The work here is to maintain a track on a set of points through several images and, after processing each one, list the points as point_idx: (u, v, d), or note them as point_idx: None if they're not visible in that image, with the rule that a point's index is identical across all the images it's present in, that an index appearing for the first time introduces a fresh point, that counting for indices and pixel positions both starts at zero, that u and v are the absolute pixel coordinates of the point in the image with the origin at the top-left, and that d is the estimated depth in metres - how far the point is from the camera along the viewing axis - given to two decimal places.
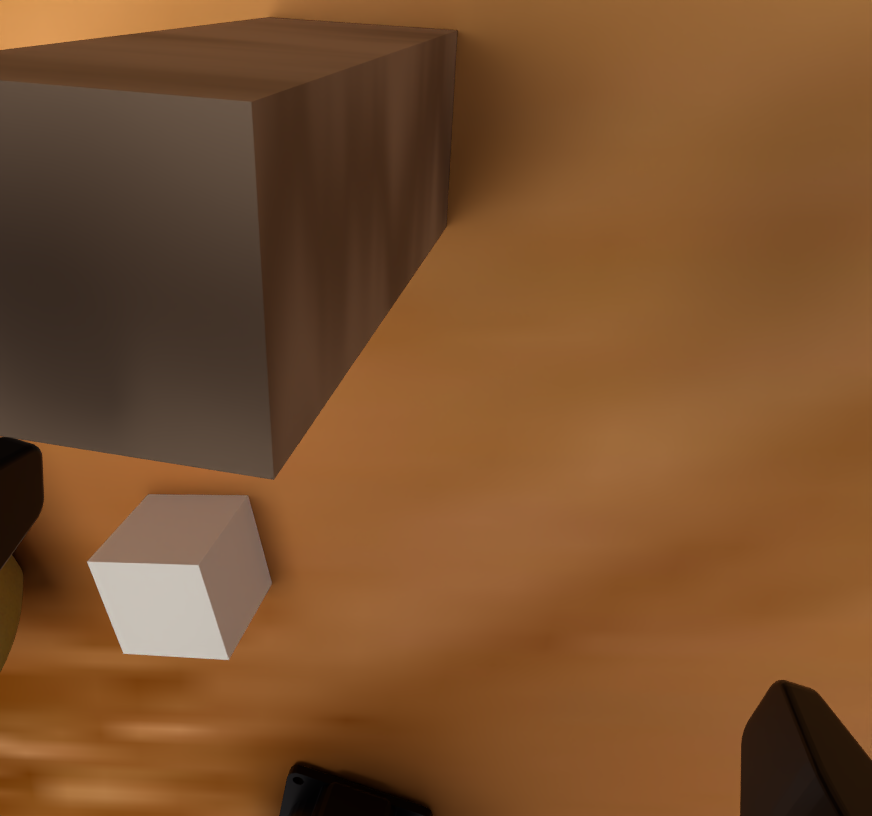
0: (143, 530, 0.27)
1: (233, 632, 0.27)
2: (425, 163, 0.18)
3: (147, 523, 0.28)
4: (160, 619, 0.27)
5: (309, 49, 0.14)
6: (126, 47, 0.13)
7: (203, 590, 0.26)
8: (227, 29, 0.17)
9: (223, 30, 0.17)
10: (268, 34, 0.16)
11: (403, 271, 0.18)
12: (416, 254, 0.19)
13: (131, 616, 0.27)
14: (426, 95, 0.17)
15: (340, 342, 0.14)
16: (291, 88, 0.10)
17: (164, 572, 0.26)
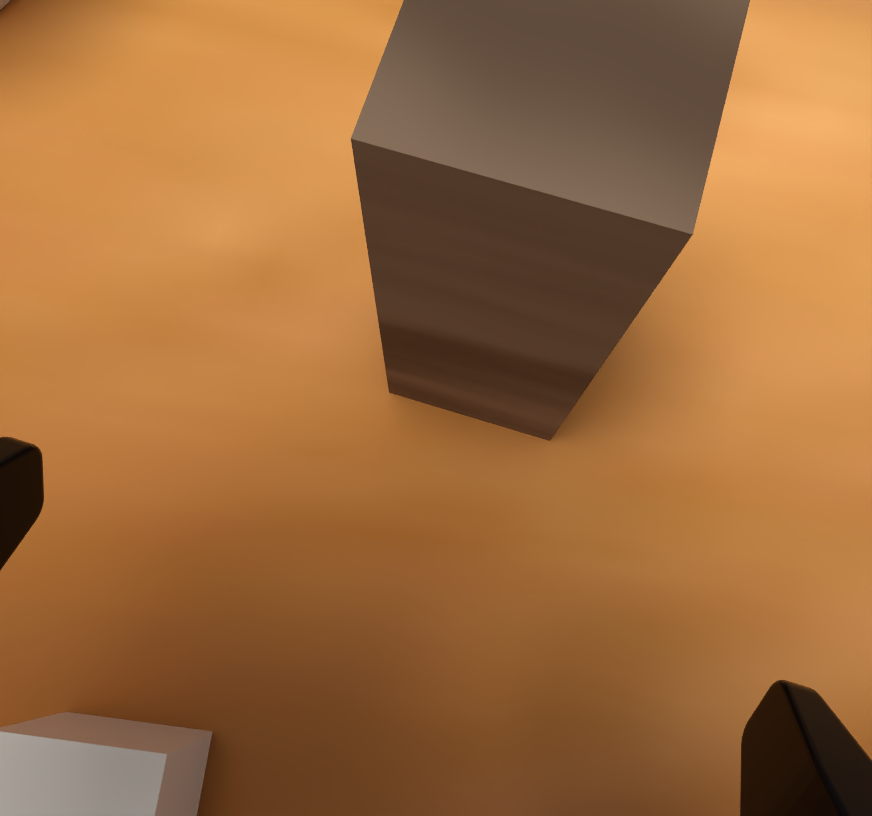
0: (70, 726, 0.19)
1: None
2: None
3: (74, 724, 0.20)
4: None
5: None
6: None
7: (152, 802, 0.17)
8: None
9: None
10: None
11: None
12: None
13: None
14: None
15: None
16: None
17: (104, 763, 0.18)
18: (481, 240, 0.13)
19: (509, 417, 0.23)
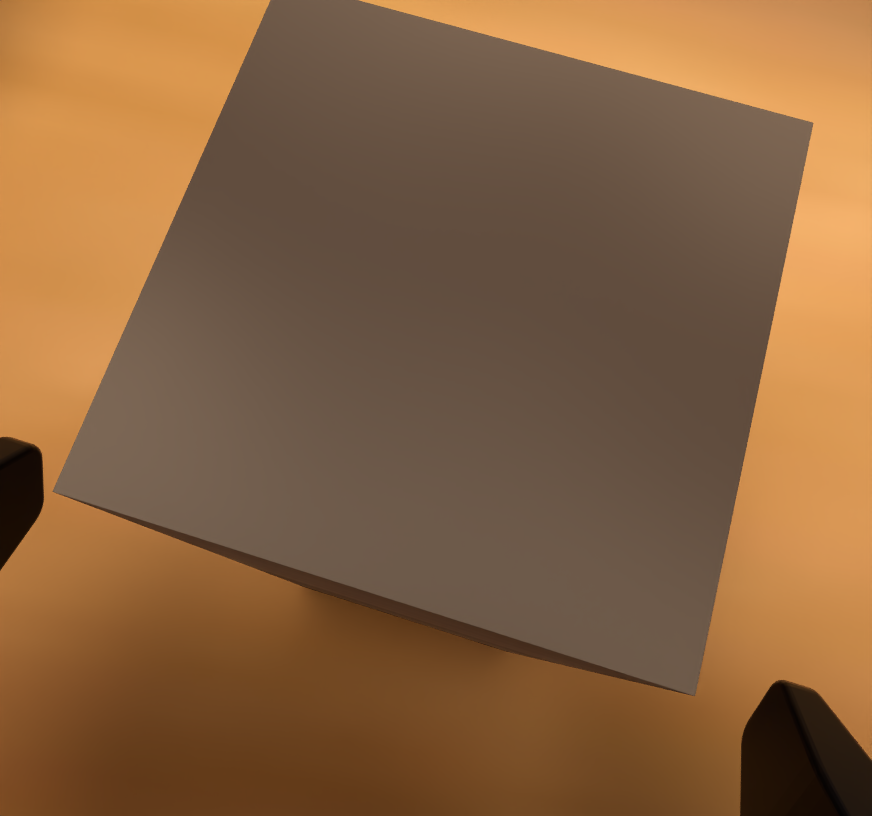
0: None
1: None
2: None
3: None
4: None
5: None
6: None
7: None
8: None
9: None
10: None
11: None
12: None
13: None
14: None
15: None
16: None
17: None
18: (338, 588, 0.08)
19: (452, 633, 0.17)
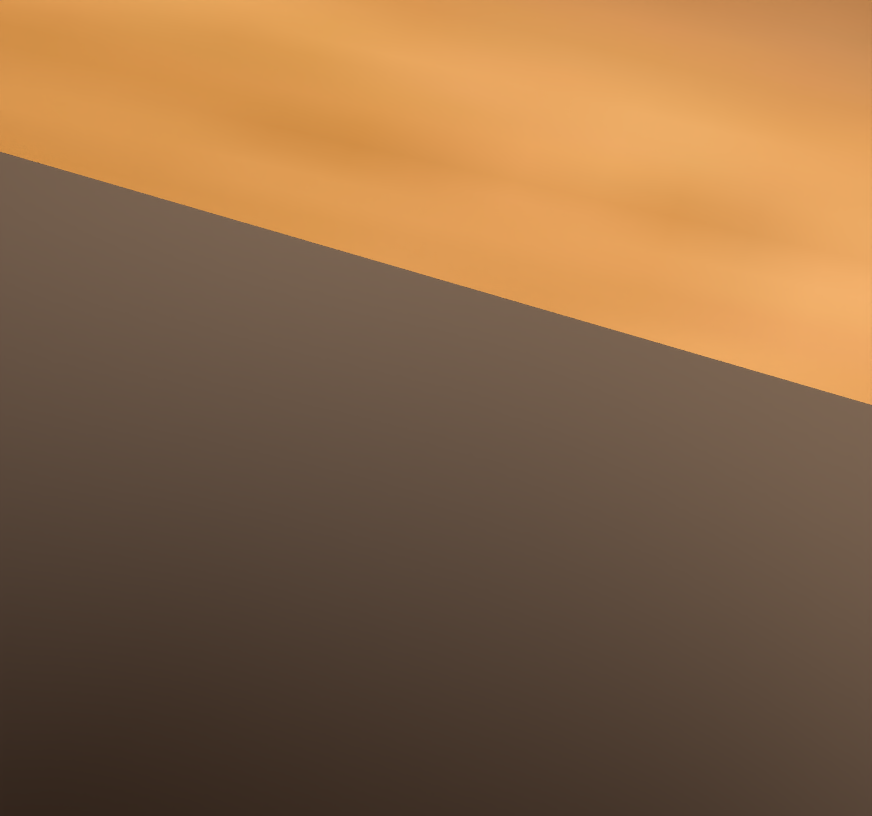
0: None
1: None
2: None
3: None
4: None
5: None
6: None
7: None
8: None
9: None
10: None
11: None
12: None
13: None
14: None
15: None
16: None
17: None
18: None
19: None
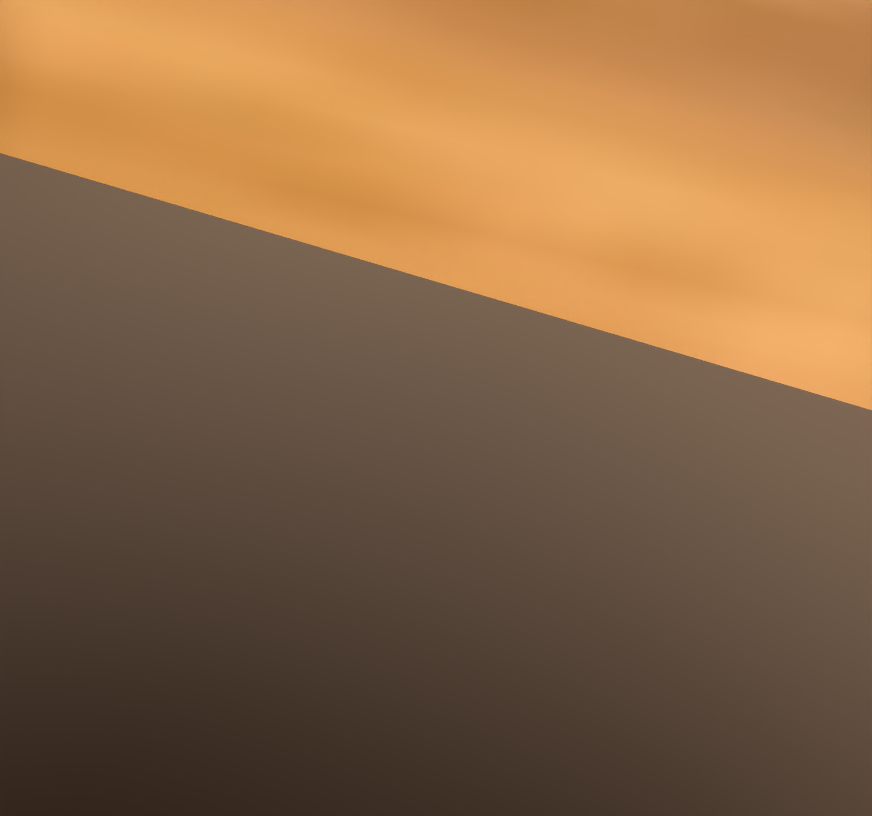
0: None
1: None
2: None
3: None
4: None
5: None
6: None
7: None
8: None
9: None
10: None
11: None
12: None
13: None
14: None
15: None
16: None
17: None
18: None
19: None
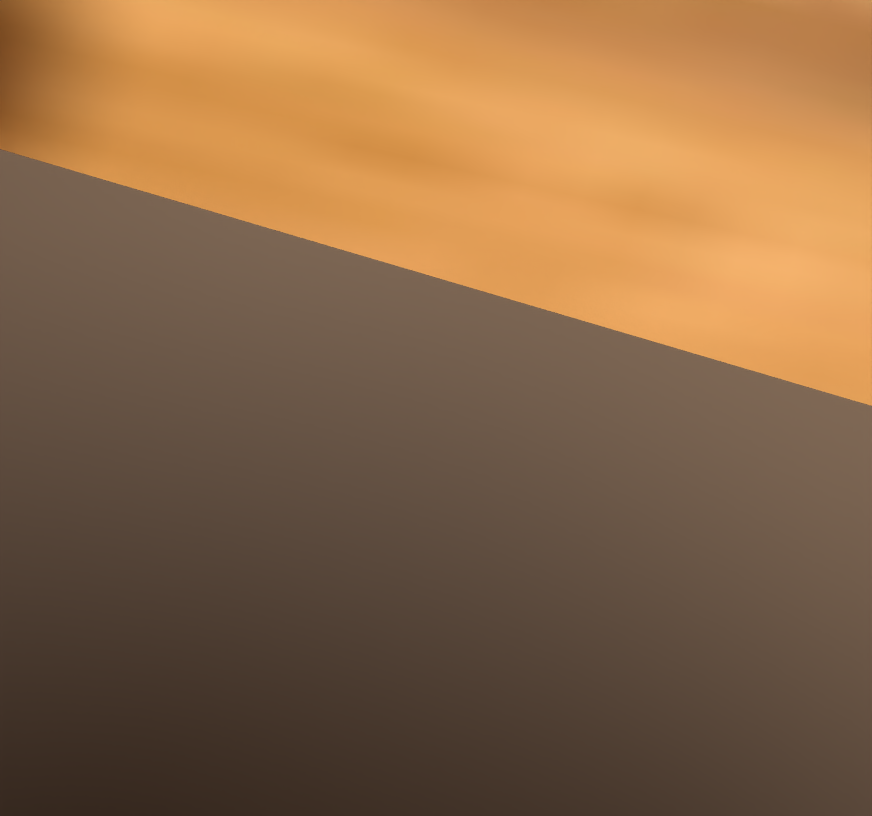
0: None
1: None
2: None
3: None
4: None
5: None
6: None
7: None
8: None
9: None
10: None
11: None
12: None
13: None
14: None
15: None
16: None
17: None
18: None
19: None
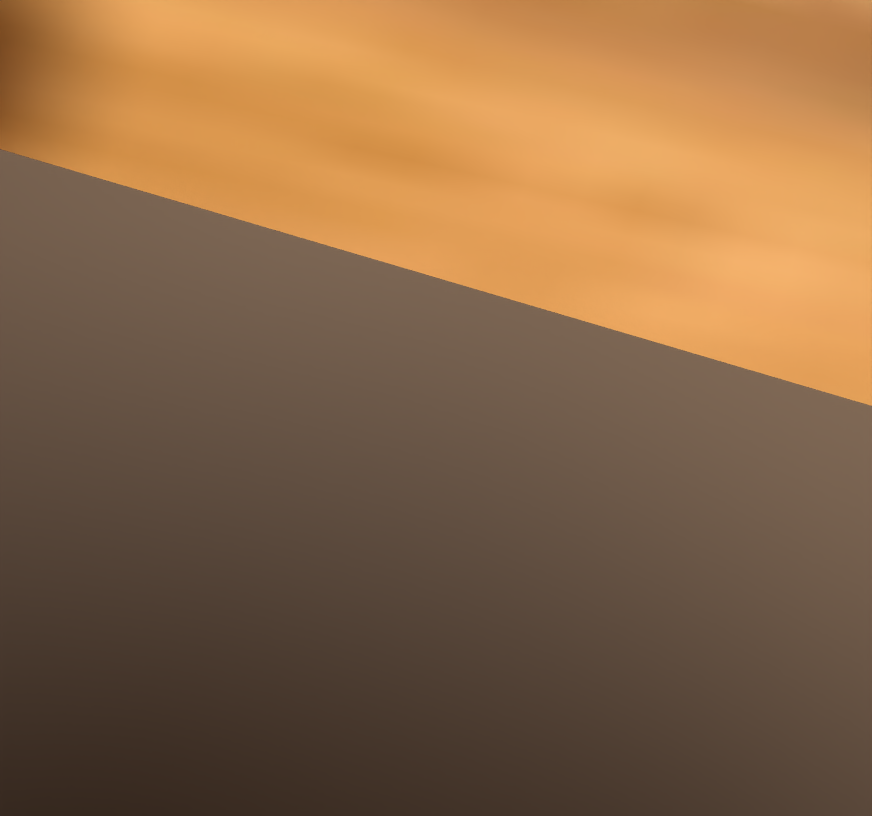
0: None
1: None
2: None
3: None
4: None
5: None
6: None
7: None
8: None
9: None
10: None
11: None
12: None
13: None
14: None
15: None
16: None
17: None
18: None
19: None
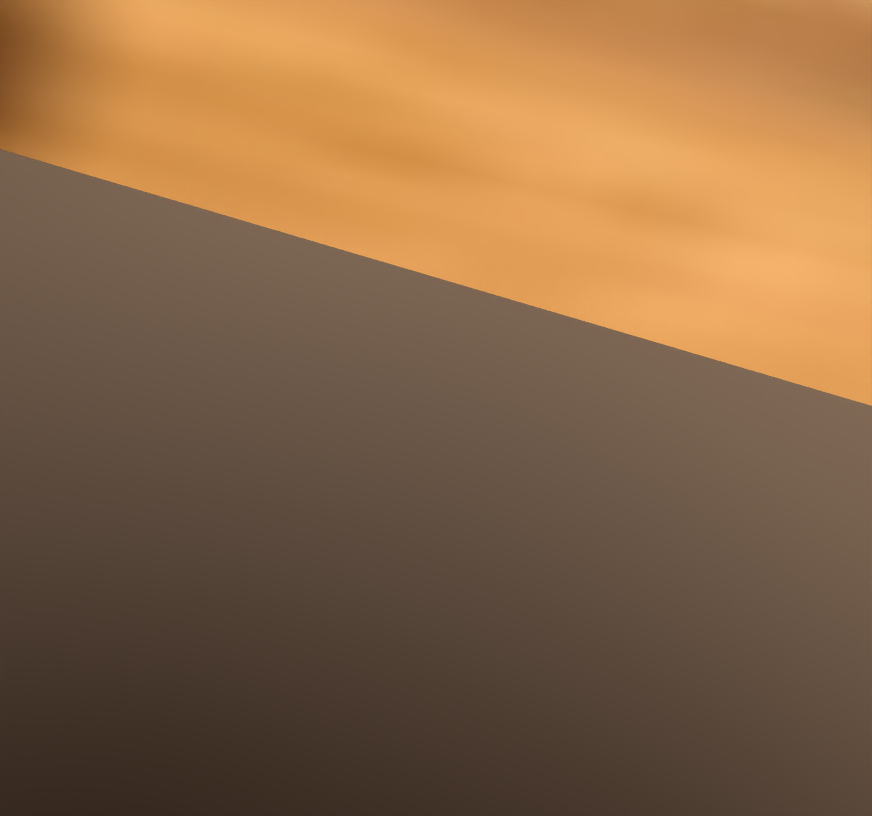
0: None
1: None
2: None
3: None
4: None
5: None
6: None
7: None
8: None
9: None
10: None
11: None
12: None
13: None
14: None
15: None
16: None
17: None
18: None
19: None
